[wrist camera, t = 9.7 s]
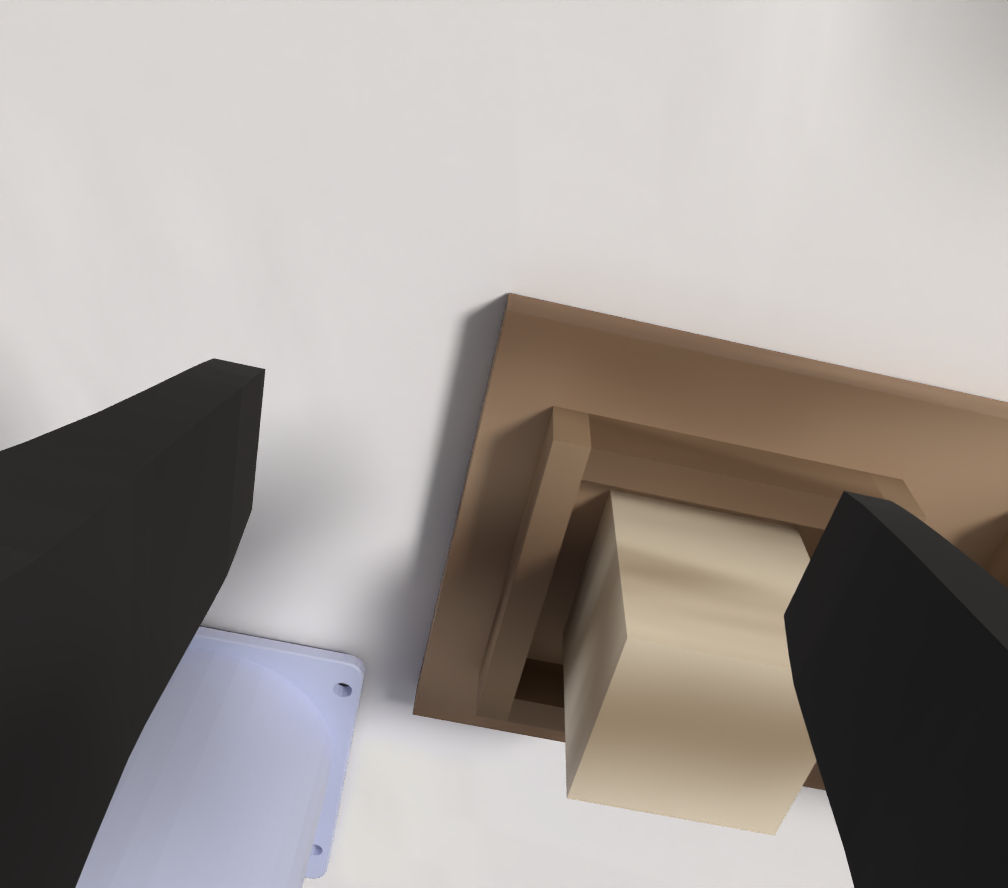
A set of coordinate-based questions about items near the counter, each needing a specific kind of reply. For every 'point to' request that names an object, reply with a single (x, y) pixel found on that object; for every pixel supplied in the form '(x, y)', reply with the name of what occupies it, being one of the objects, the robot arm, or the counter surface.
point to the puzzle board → (692, 401)
